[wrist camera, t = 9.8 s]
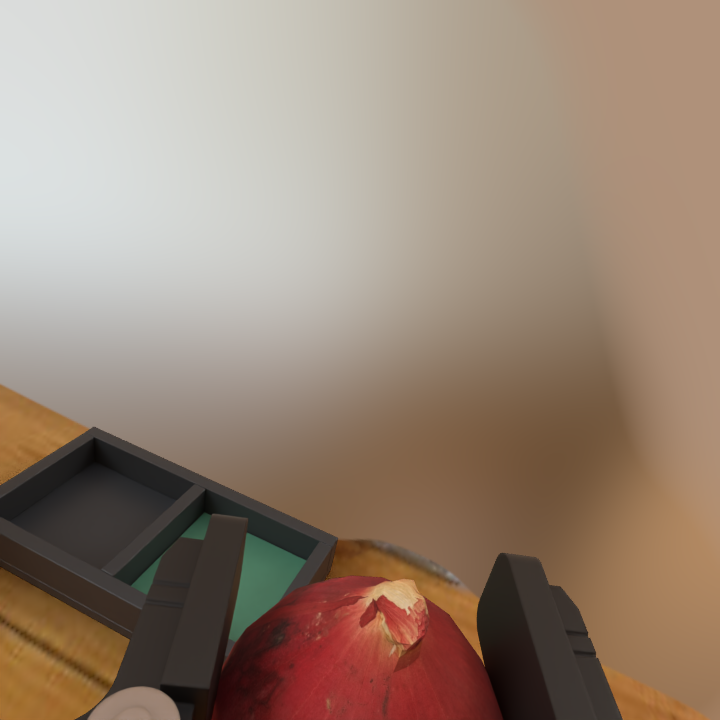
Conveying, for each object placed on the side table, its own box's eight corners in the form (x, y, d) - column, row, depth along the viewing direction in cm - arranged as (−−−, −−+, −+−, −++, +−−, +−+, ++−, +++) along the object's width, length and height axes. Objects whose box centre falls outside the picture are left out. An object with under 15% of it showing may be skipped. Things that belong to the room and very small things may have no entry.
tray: (94, 458, 39) (94, 426, 38) (330, 569, 34) (338, 537, 33) (-35, 547, 31) (-42, 510, 30) (247, 705, 27) (253, 670, 26)
